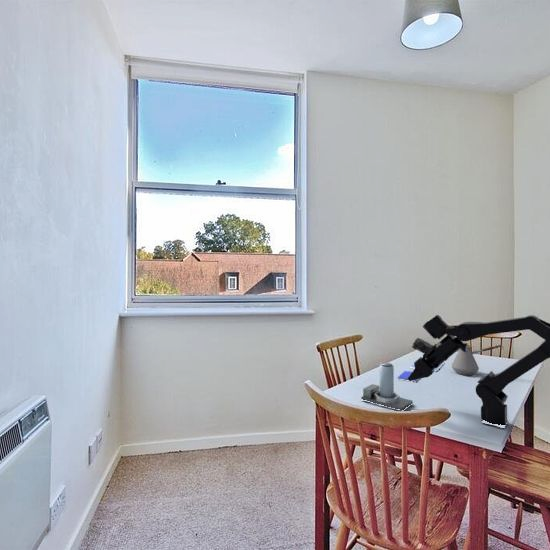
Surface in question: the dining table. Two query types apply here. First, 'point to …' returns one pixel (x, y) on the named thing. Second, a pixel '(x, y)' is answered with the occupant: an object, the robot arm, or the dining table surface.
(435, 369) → the tablet computer
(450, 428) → the dining table surface
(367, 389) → the motor mount
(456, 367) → the coffee pot
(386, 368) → the grey capped canister
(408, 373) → the hard drive
